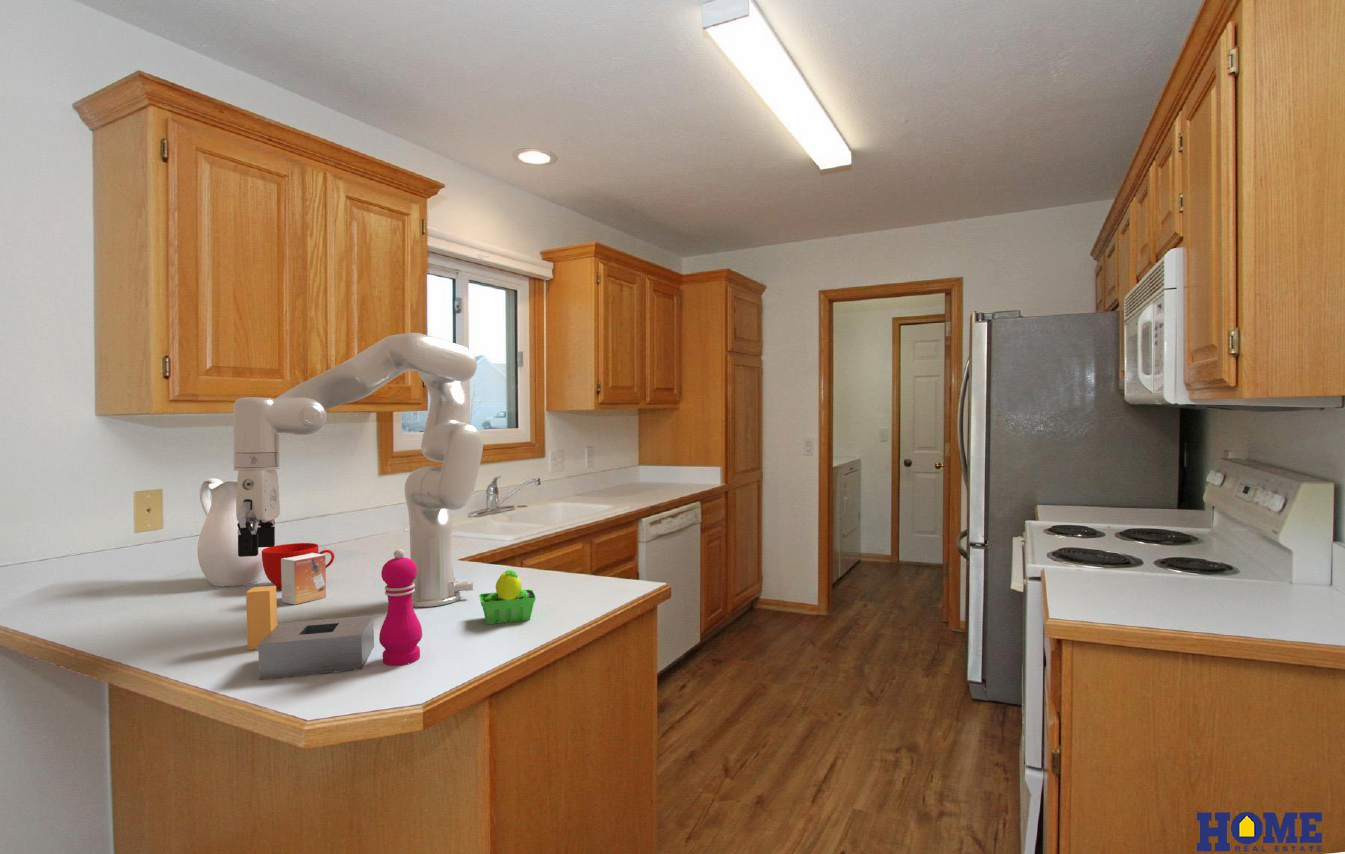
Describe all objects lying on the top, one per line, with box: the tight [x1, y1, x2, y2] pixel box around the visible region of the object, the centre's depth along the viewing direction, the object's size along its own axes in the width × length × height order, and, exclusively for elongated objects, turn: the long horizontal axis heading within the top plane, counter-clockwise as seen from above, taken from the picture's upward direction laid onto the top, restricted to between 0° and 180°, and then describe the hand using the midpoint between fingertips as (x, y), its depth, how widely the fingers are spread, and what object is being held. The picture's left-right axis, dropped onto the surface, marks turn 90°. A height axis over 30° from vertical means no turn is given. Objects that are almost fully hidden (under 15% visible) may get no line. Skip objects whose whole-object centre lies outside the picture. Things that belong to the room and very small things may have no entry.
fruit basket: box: [478, 569, 537, 625], centre depth 146 cm, size 11×9×11 cm
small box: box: [281, 553, 327, 606], centre depth 164 cm, size 8×6×10 cm
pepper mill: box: [378, 548, 423, 667], centre depth 123 cm, size 7×7×20 cm
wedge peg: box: [245, 585, 278, 651], centre depth 132 cm, size 4×4×11 cm
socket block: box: [257, 615, 375, 681], centre depth 123 cm, size 16×12×6 cm
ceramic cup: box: [262, 542, 335, 590], centre depth 179 cm, size 13×17×10 cm
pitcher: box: [197, 477, 268, 587], centre depth 185 cm, size 24×17×28 cm
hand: (257, 551), depth 131 cm, fingers open, 9 cm apart
